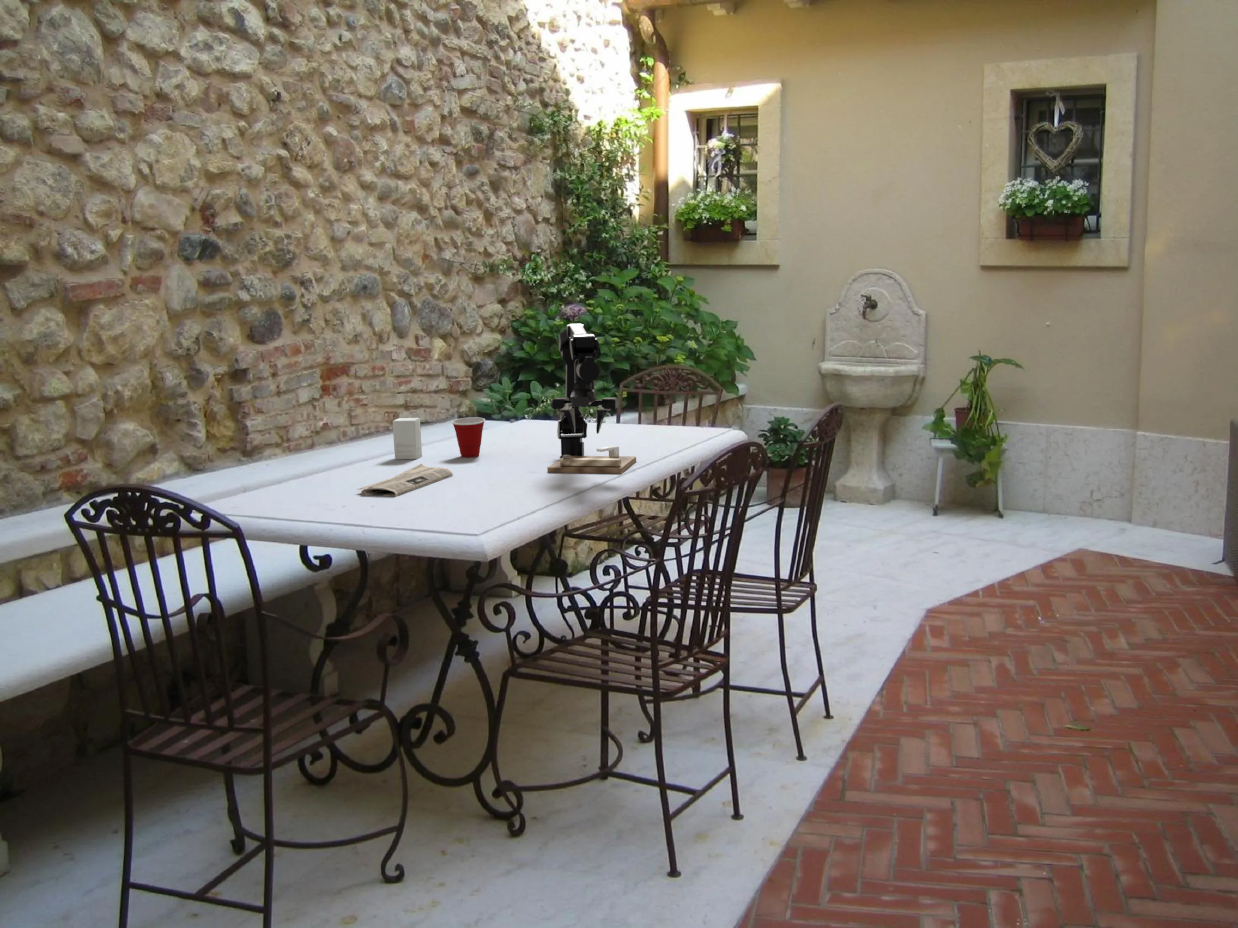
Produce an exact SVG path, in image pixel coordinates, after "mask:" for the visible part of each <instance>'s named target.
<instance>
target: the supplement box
mask: <svg viewBox="0 0 1238 928" xmlns="http://www.w3.org/2000/svg"><path fill="white" fill-rule="evenodd" d="M392 431H393V433H392V434H393V447H394V460H417V459H419V458H421V457H423V450H422V449H423V448H422V429H421V419H420V417H404V418H403V417H399V418H397V419H396V418H395V419H394V420H392Z"/></svg>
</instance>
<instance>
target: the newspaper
mask: <svg viewBox="0 0 1238 928" xmlns="http://www.w3.org/2000/svg"><path fill="white" fill-rule="evenodd" d="M453 474H454V473H453V471H451V470H450V469H449V468H444V467H441V466H440V467H438V466H437V467H435V466H434V467H433V466H431V467H429V466H425V465H423V464H422V463H420V464H418V465H416V466H413V467H412V468H410V469H408V470H407V469H406V471H404V472H401V473H399V474H396V475H395V476H393V477H391V478H388V479H385V480H381V481H378V482H375V483H372V484H368V485H365V486H362V487H359V488H356V490H358V491H361V493H360V494H361V496H362V495H363V496H374V495H376V494H379V493H382V492H384V491H389V493H386V494H383V495H382V496H384V497H399V496H401V495H404V494H407V493H411V492H412V491H415V490H418V489H421V488H423V487H427V486H429V485H431V484H434V483H437V482H439V481H442V480H445V479H448V478H451V477H453Z"/></svg>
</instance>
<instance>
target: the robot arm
mask: <svg viewBox="0 0 1238 928" xmlns="http://www.w3.org/2000/svg"><path fill="white" fill-rule="evenodd" d="M565 328H566V329H564V330H563V331H562V332H561V333H559V338H558V351H559V352H560V355H561V358H562V360H563V362H564V363H565V389H564V390H565V393H564V394H565V396H564V397H555V398H553V399H552V400H551V403H550V404H551V410H552V409H553V410H559V412H560V415H559V416H560V417H559V419H558V420H557V428H556V430H557V431H556V432H557V434H556V435H557V438H558V440H560V452H561V453H560V456H559V459H561V458H563V455H570V456H585V442H584V441H583V439H586V438H588V434H587V433H588V432H587V431H588V423H587V422H586V419H585V417H584V415H583V412H582V410H581V409H580V408H581V407H582V408H587V407H598V409H597V410H596V434H600V430H601V427H602V424H603V422H604V420H605V417H606V414H607V413H608V412H609V411H611V410H616V409H618V408H620V400H619V398H618V397H603V398H602V399H597V393H596V392H597V391H596V380H597V379H598V378H599V375H600V368H599V365H598V364H597V362H595V360H599V359H601V356H602V352H601V345H600V342H599V339H598V338H597V337H596V335H595V334H593V333H587V331H586V329H585V325H584V324H582V323H569V324H567V325H566V327H565Z"/></svg>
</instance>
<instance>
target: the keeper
mask: <svg viewBox="0 0 1238 928" xmlns="http://www.w3.org/2000/svg"><path fill="white" fill-rule="evenodd" d="M596 452H599V453H603V452H608V456H609V458H619V456H620V446H619V445H610V446H604V447H600V448H599V447H598V448H596Z"/></svg>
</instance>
